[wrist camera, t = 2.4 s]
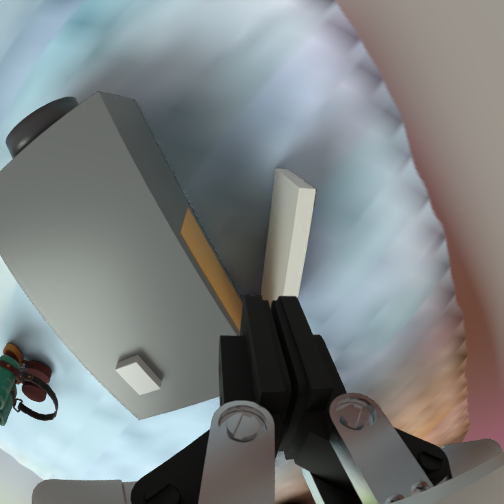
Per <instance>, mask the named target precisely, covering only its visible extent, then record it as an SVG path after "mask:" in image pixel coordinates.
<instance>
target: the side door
mask: <svg viewBox="0 0 504 504" xmlns="http://www.w3.org/2000/svg"><path fill="white" fill-rule="evenodd" d="M316 190H317V189H316V188H314V187H313V186H311V185H310V184H309V183H307V182H306V181H304V180H302V179H301V178H299V177H298V176H297V175H295V174H294V173H292V172H291V171H289V170H288V169H279V168H275V175H274V184H273V192H272V201H271V210H270V218H269V227H268V235H267V244H266V252H265V261H264V269H263V277H262V285H261V293H260V295H261V296H262V299H263V300H268V302H269V305H270V309H271V303H272V300H277V299H278V297H279V296H296V297H297V298H298V294H299V289H300V283H301V278H302V272H303V267H304V261H305V255H306V249H307V243H308V237H309V231H310V225H311V219H312V212H313V207H314V204H315V197H316Z"/></svg>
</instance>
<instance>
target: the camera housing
mask: <svg viewBox="0 0 504 504" xmlns="http://www.w3.org/2000/svg"><path fill="white" fill-rule="evenodd" d="M6 145H7V147H8V149H9V151H10V154H11V156H12V158H13V159H12V160H11V161H10V162H9V163H8V164H7V165H6V166H5V167H4V168H3V169H2V170H1V171H0V255H1V257H2V259H3V260H4V262H5V264H6V265H7V267H8V268H9V270H10V272H11V273H12V275H13V276H14V278H15V279H16V281H17V282H18V284H19V285H20V287H21V288H22V290H23V291H24V292H25V294H26V295H27V297H28V298H29V299H30V301H31V302H32V304H33V305H34V306H35V308H36V309H37V310H38V312H39V313H40V314H41V316H42V317H43V318H44V320H45V321H46V322H47V323H48V325H49V326H50V327H51V328H52V330H53V331H54V332H55V333H56V335H57V336H58V337H59V338H60V339H61V341H62V342H63V343H64V344H65V345H66V347H67V348H68V349H69V350H70V351H71V352H72V353H73V355H74V356H75V357H76V358H77V359H78V360H79V361H80V362H81V363H82V365H83V366H84V367H85V368H86V369H87V370H88V371H89V372H90V373H91V374H92V375H93V376H94V377H95V378H96V379H97V380H98V381H99V382H100V383H101V385H102V386H103V387H104V388H105V389H106V390H108V391H109V392H110V393H111V394H112V395H113V396H114V397H115V398H116V399H117V400H118V401H119V402H120V403H121V404H122V405H123V406H124V407H125V408H126V409H128V410H129V411H130V412H131V413H132V414H133V415H134V416H135V417H136V418H138V419H139V420H141V419H145V418H149V417H152V416H156V415H160V414H163V413H167V412H171V411H174V410H177V409H181V408H184V407H187V406H191V405H194V404H197V403H200V402H203V401H207V400H210V399H213V398H216V397H219V338H220V335H230V336H240V325H241V315H242V305H243V299H242V298H241V296H240V294H239V292H238V291H237V289H236V287H235V285H234V284H233V282H232V280H231V278H230V277H229V275H228V273H227V271H226V270H225V268H224V266H223V264H222V262H221V261H220V259H219V257H218V255H217V254H216V252H215V250H214V248H213V246H212V245H211V243H210V241H209V239H208V237H207V236H206V234H205V232H204V230H203V228H202V226H201V225H200V223H199V221H198V219H197V217H196V215H195V214H194V212H193V210H192V208H191V206H190V204H189V203H188V201H187V199H186V197H185V195H184V193H183V191H182V190H181V188H180V186H179V184H178V182H177V180H176V178H175V176H174V175H173V173H172V171H171V169H170V167H169V165H168V163H167V161H166V159H165V158H164V156H163V154H162V152H161V150H160V148H159V146H158V144H157V142H156V140H155V138H154V136H153V134H152V133H151V131H150V129H149V127H148V125H147V123H146V121H145V119H144V117H143V115H142V113H141V111H140V109H139V107H138V105H137V103H136V101H135V100H134V99H130V98H126V97H122V96H117V95H113V94H108V93H104V92H99V91H98V92H97V93H95V94H94V95H92V96H91V97H90V98H88V99H87V100H85V101H84V102H82V103H81V104H80V105H79V104H78V102H77V100H76V98H75V97H65V98H61V99H58V100H55V101H53V102H50V103H48V104H46V105H44V106H42V107H41V108H39V109H37V110H36V111H34V112H32V113H31V114H30V115H28V116H27V117H26V118H24V119H23V120H22V121H21V122H20V123H18V124H17V125H16V126H15V127H14V128H13V130H12V131H11V132H10V133H9V135H8V136H7V138H6Z"/></svg>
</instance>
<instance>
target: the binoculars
mask: <svg viewBox="0 0 504 504" xmlns="http://www.w3.org/2000/svg"><path fill="white" fill-rule="evenodd" d="M3 354H4V355H2V356H1V357H0V425H1V426H4V425H5V424H6V421H7V419H8V416H9V414H10V411H11V409H12V406H13V408H14V409H15V410H16V411H17V412H20V410H21V411H22V412H24V413H25V414H28V415H29V416H31V417H33V418H35V419H38V420H43V421H47V420H53V419H54V418H55V417H56V414H57V410H58V400H57V398H56V395H55V393H54V392H53V391H52V389H51V388H50V387H49V385H47V384H46V383H49V381H50V377H51V370H50V369H49V368H48V367H47V366H45V365H44V364H42V363H39V362H36V361H26V360H23V356H22V354H21V353H20V351H19V350H18V348H17V347H16V346H14V345H13V344H11V343H8V344H7V345H6V346H5V348H4V350H3ZM23 363H24V364H26V365H25V368H19V366H21V365H22V364H23ZM20 370H24V371H23V373H22V375H21V377H20V375H19V372H20ZM24 380H25V381H24ZM20 383H22V384H23V385H22V392H23V393H24V394H25V395H26V396H27V397H28V398H29V399H31V400H33V401H36V402H42V401H44V400H45V399H46V394H48V395H49V396H50V397H51V399H52V400H53V402H54V405H55V409H56V411H55V412H54V413H53V414H47V415H45V414H39V413H37V412H35V411H32V410H31V409H29V408H28V407H26V406H25V405H24V404H22V402H23V401H22V400H21V399H18V398H16V395H17V389H16V384H18V385H19V384H20ZM15 398H16V399H15ZM17 400H19V401H21V402H20V403H19V405H18V409H19V410H17V409H16V408H15V407H14V406H15V405H16V402H17Z"/></svg>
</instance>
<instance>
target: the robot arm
mask: <svg viewBox="0 0 504 504" xmlns="http://www.w3.org/2000/svg"><path fill="white" fill-rule="evenodd" d="M219 396H220V407H219V408H218V409H217V410H216V412H215V413H214V415H213V418H212V421H211V427H210V429H209V430H208V431H207V432H205V433H204V434H203V435H202V436H200V437H199V438H198V439H196V440H195V441H194V442H192V443H191V444H189V445H188V446H187V447H185V448H184V449H183V450H181V451H180V452H178V453H177V454H176V455H174V456H173V457H171V458H170V459H169V460H167V461H166V462H164V463H163V464H161V465H160V466H158V467H157V468H156V469H154V470H153V471H151V472H150V473H148V474H147V475H145V476H144V477H142V478H141V479H140V480H139V481H136V482H122V481H121V480H59V479H50V480H44V481H43V482H40V483H39V484H38V485H37V486H36V487H35V489H34V490H33V494H32V504H275V458H276V455H277V453H278V451H284V454H285V458H286V460H289V459H294V461H295V464H297V465H299V466H301V467H302V472H303V476H304V478H305V480H306V482H307V485H308V487H309V489H310V491H311V494H312V496H313V498H314V500H315V502H316V504H504V452H503V449H502V448H501V446H500V444H499V443H497V442H496V441H495V440H492V439H481V440H475V441H469V442H463V443H456V444H449V445H444V446H443V447H442V448H439V447H437V446H436V445H434V444H431V443H429V442H427V441H424V440H422V439H419V438H417V437H415V436H412V435H410V434H408V433H406V432H403V431H401V430H399V429H397V428H394V427H393V426H392V424H391V423H390V421H389V420H388V418H387V417H386V415H385V414H384V413H383V411H382V410H381V408H380V407H379V406H378V404H377V403H376V402H375V401H374V400H372V399H371V398H369V397H368V396H365V395H362V394H358V393H347V392H346V390H345V388H344V385H343V383H342V381H341V379H340V376H339V374H338V372H337V369H336V367H335V365H334V363H333V360H332V358H331V356H330V353H329V351H328V349H327V347H326V344H325V342H324V340H323V338H322V337H321V336H320V335H313V334H312V332H311V329H310V327H309V324H308V322H307V320H306V317H305V315H304V313H303V310H302V308H301V305H300V303H299V301H298V298H297V297H296V296H279V297H278V299H277V300H272V303H271V309H270V305H269V302H268V300H263V299H262V296H261V295H244V297H243V305H242V315H241V325H240V336H230V335H220V338H219Z"/></svg>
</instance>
